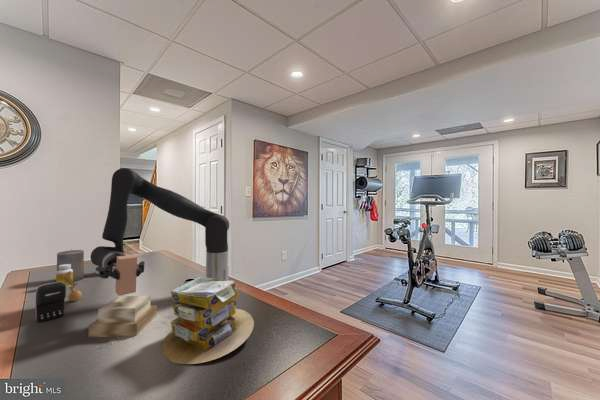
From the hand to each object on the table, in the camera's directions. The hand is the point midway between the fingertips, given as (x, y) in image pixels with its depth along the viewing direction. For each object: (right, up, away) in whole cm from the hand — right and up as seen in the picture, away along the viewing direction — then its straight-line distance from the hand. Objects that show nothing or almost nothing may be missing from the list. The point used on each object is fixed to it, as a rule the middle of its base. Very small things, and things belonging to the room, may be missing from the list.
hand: (128, 274), depth 77 cm
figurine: (-35, -16, +19) cm, 43 cm away
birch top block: (-2, -13, +2) cm, 13 cm away
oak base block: (-2, -17, +2) cm, 17 cm away
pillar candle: (-59, -16, +45) cm, 76 cm away
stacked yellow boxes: (+27, -17, -4) cm, 32 cm away
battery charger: (-30, -16, +6) cm, 34 cm away
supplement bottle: (-53, -16, +35) cm, 66 cm away
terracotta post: (-2, -6, +2) cm, 7 cm away
